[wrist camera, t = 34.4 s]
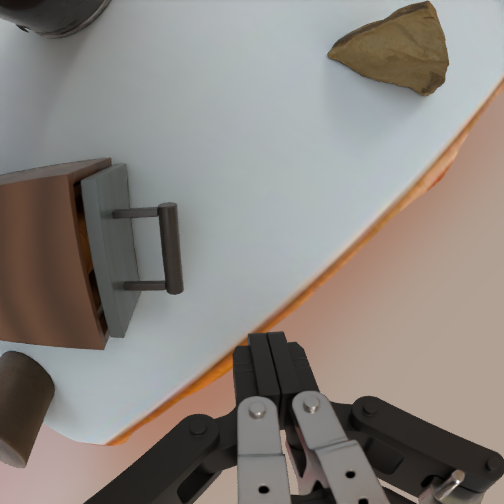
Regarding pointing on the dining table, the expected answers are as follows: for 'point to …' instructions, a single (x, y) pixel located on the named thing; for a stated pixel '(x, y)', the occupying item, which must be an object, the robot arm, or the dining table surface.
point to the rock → (399, 49)
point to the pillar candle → (21, 406)
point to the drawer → (123, 245)
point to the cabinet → (46, 260)
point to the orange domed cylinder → (85, 242)
